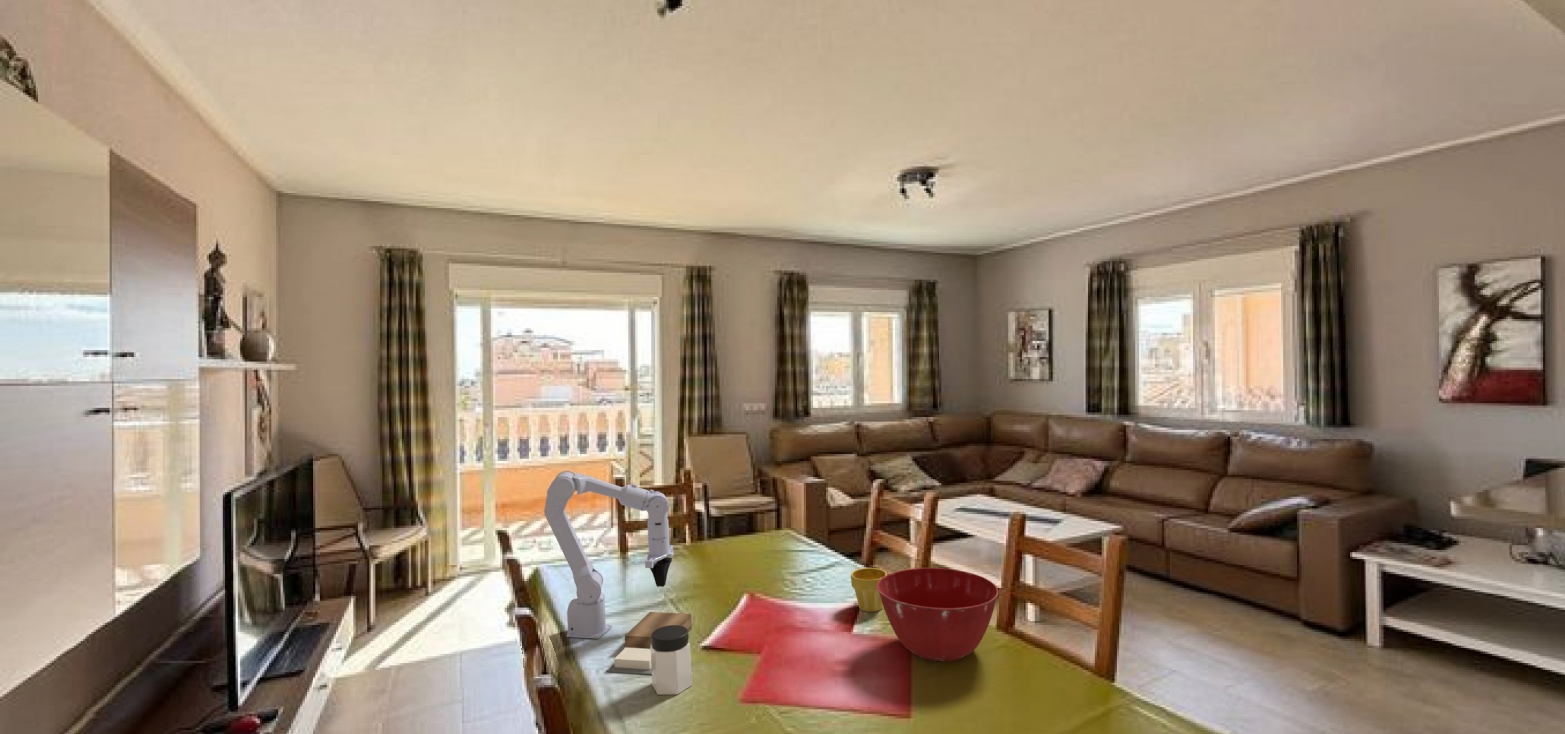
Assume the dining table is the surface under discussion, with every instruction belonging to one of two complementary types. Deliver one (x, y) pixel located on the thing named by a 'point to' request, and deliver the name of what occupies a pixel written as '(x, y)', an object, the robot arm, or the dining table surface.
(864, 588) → the plant pot
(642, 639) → the plate
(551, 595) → the dining table surface
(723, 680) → the dining table surface
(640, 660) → the cream rectangular block
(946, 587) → the mixing bowl
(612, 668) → the mat
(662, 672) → the jar
